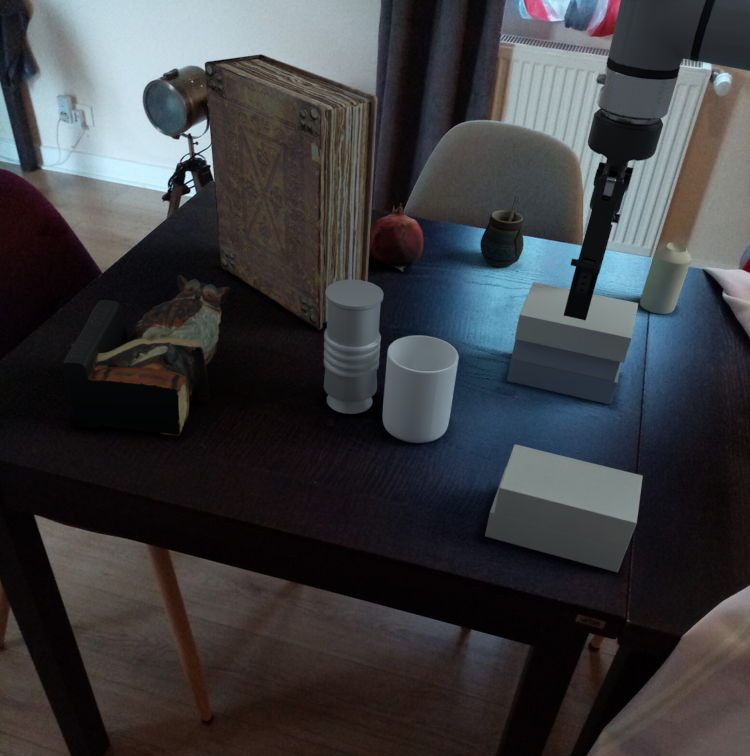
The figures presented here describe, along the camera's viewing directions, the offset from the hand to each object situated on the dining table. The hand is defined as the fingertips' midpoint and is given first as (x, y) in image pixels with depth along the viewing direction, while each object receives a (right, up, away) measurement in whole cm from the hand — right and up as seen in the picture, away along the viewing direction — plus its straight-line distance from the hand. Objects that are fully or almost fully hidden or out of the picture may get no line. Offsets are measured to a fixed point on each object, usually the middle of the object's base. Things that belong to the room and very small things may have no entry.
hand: (582, 293), depth 99 cm
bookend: (-54, -11, +3) cm, 55 cm away
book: (-39, +7, +23) cm, 46 cm away
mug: (-21, -16, -1) cm, 26 cm away
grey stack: (-1, -9, +8) cm, 13 cm away
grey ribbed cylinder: (-30, -14, +1) cm, 33 cm away
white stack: (-7, -30, -15) cm, 34 cm away
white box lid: (0, -4, +4) cm, 6 cm away
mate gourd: (-5, +15, +36) cm, 39 cm away
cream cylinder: (+19, +5, +26) cm, 33 cm away
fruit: (-23, +13, +32) cm, 42 cm away
